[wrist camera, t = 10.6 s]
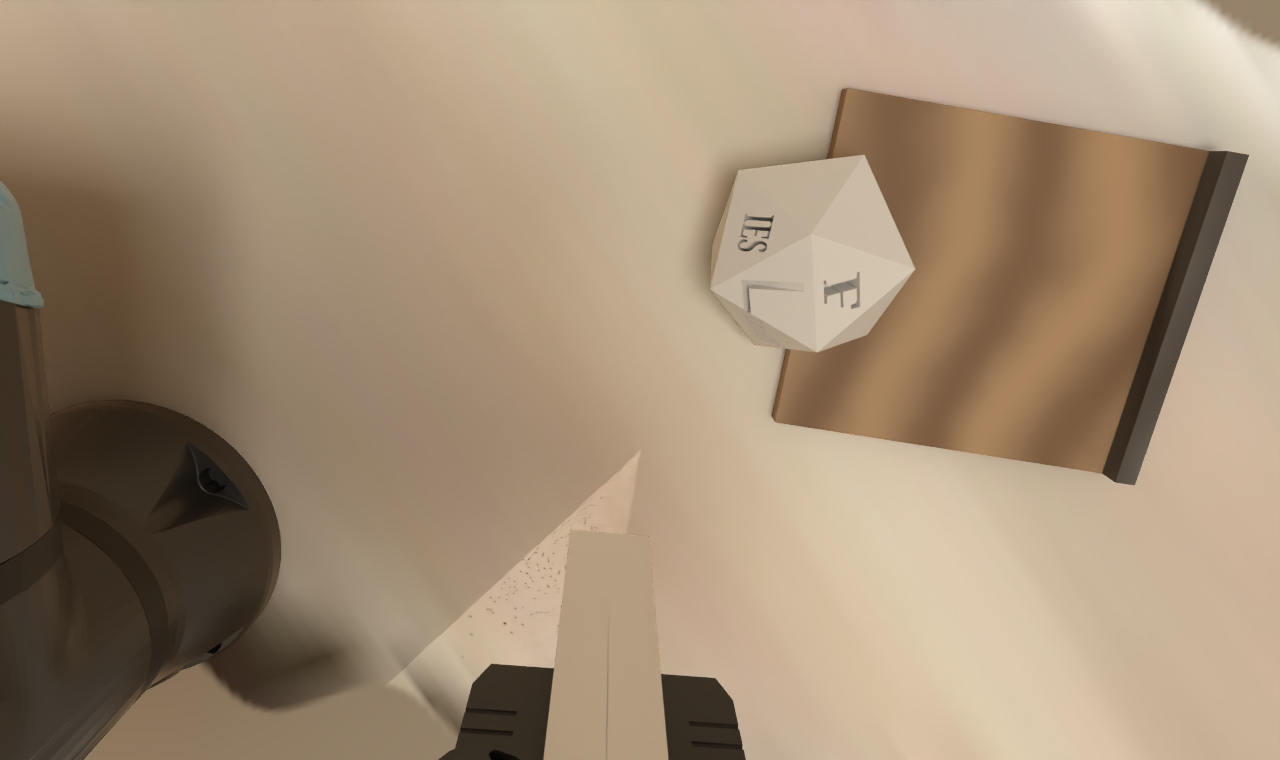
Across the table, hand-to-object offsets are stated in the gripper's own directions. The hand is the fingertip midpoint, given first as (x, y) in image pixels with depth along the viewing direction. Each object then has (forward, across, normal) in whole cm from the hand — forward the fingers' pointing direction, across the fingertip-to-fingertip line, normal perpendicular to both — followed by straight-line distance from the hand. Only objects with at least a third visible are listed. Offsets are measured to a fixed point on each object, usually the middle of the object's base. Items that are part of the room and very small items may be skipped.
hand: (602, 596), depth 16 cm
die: (+26, +4, +4) cm, 27 cm away
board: (+25, +18, +4) cm, 31 cm away
